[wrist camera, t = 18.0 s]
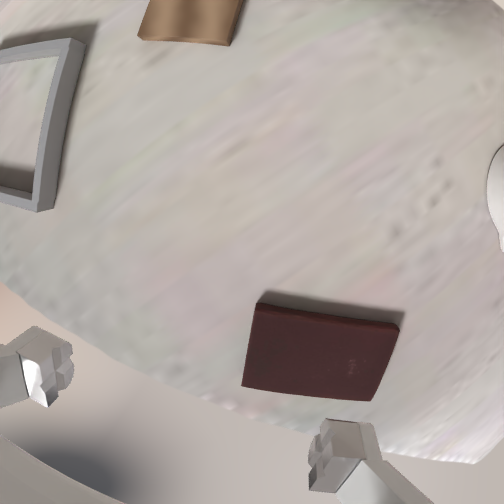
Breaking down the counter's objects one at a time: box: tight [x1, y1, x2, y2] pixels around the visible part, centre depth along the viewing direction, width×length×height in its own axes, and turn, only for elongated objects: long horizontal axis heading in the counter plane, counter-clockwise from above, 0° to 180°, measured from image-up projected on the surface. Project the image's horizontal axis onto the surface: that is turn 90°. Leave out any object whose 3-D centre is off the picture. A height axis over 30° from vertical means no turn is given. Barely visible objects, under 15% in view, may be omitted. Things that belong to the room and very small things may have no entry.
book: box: [241, 303, 400, 401], centre depth 41 cm, size 12×19×3 cm, turn 81°
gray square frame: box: [0, 38, 86, 212], centre depth 36 cm, size 25×25×4 cm
